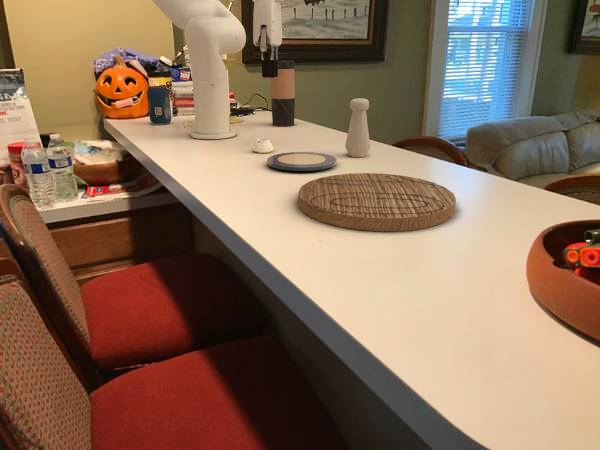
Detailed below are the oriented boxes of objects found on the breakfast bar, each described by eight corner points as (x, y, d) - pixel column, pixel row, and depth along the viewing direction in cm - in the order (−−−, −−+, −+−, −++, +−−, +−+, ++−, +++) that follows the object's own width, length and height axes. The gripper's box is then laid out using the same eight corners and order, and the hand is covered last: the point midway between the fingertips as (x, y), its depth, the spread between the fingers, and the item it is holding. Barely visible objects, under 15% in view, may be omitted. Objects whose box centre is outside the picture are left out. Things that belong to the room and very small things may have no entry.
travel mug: (294, 126, 151) (294, 60, 144) (271, 126, 151) (269, 60, 144) (295, 123, 158) (294, 60, 151) (272, 123, 158) (271, 60, 151)
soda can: (152, 122, 161) (148, 85, 156) (173, 121, 161) (169, 85, 157) (148, 125, 154) (144, 87, 150) (170, 124, 155) (166, 87, 151)
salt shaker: (368, 158, 108) (371, 100, 103) (343, 157, 109) (345, 99, 104) (370, 153, 113) (373, 97, 108) (346, 152, 114) (348, 97, 110)
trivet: (300, 182, 89) (300, 172, 88) (433, 183, 88) (434, 173, 87) (295, 230, 65) (295, 217, 65) (476, 232, 65) (478, 219, 64)
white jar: (276, 150, 117) (257, 148, 118) (276, 138, 116) (257, 137, 117) (269, 154, 112) (250, 152, 114) (269, 141, 111) (249, 140, 113)
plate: (258, 171, 97) (258, 165, 96) (276, 156, 110) (276, 150, 110) (331, 175, 94) (331, 168, 93) (340, 159, 107) (340, 153, 107)
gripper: (262, -2, 118) (264, 75, 125) (242, -9, 103) (245, 79, 110) (291, -3, 117) (291, 75, 123) (275, -10, 102) (277, 79, 109)
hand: (270, 76), depth 116 cm, fingers closed
